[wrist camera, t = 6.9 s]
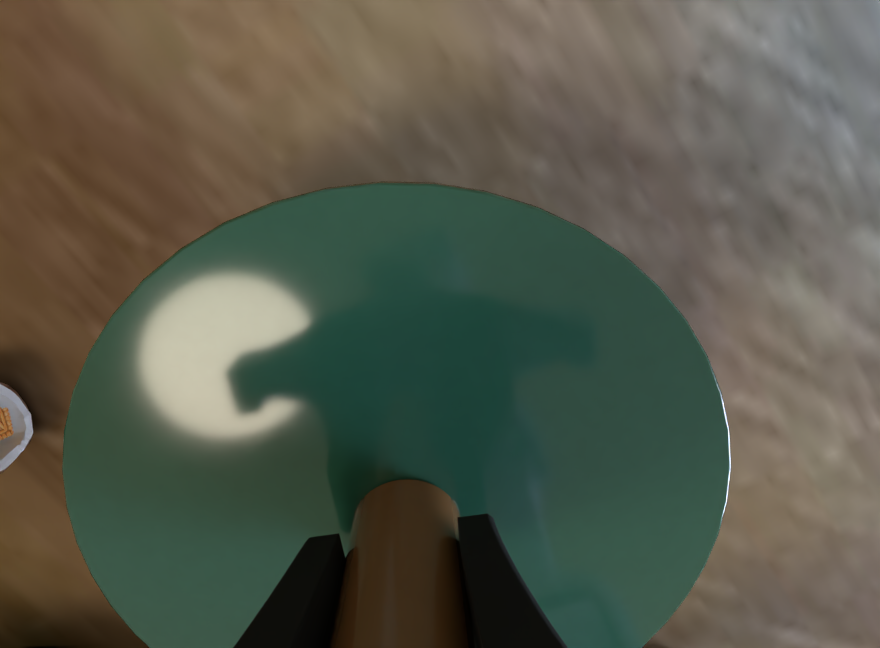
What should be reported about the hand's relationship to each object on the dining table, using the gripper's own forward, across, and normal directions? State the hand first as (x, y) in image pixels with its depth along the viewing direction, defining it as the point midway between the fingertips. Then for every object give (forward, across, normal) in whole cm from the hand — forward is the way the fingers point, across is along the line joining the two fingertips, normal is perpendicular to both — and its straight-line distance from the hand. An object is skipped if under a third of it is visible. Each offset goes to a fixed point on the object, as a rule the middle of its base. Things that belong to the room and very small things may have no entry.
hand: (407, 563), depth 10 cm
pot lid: (+2, 0, 0) cm, 2 cm away
